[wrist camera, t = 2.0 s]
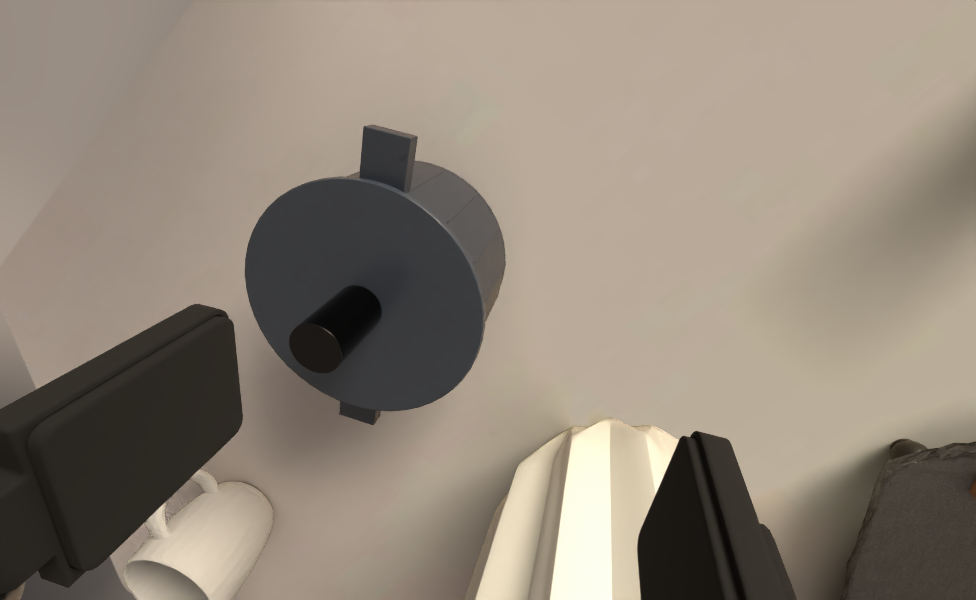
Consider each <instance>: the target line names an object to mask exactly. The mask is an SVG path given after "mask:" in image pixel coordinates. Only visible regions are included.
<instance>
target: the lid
mask: <svg viewBox="0 0 976 600" xmlns="http://www.w3.org/2000/svg"><path fill="white" fill-rule="evenodd" d="M245 279H246V288H247V293H248V297H249V302H250V305H251V308H252V311H253V314H254V316H255V318H256V321H257V323H258V325H259V327H260V329H261V331H262V333H263V334H264V336H265V338H266V339H267V341H268V343H269V344H270V345H271V347H272V348H273V349H274V351H275V352H276V353H277V355H278V356H279V357H280V358H281V359H282V360H283V361H284V362H285V364H286V365H287V366H288V367H289V368H291V369H292V370H293V371H294V372H295V373H296V374H297V375H298V376H299V377H301V378H302V379H303V380H305V381H306V382H307V383H309V384H310V385H311V386H313V387H315V388H316V389H318V390H319V391H321V392H323V393H324V394H326V395H328V396H330V397H332V398H334V399H337V400H339V401H342V402H344V403H347V404H350V405H353V406H357V407H361V408H365V409H371V410H378V411H400V410H408V409H413V408H418V407H421V406H424V405H426V404H429V403H432V402H434V401H436V400H437V399H439V398H441V397H443V396H444V395H446V394H447V393H449V392H450V391H451V390H453V389H454V388H455V387H456V386H457V385H458V384H459V383H460V382H461V381H462V380H463V379H464V377H465V376H466V374H467V373H468V372H469V370H470V369H471V367H472V365H473V363H474V361H475V359H476V357H477V355H478V353H479V350H480V347H481V343H482V340H483V335H484V329H485V303H484V296H483V291H482V287H481V283H480V280H479V277H478V274H477V272H476V269H475V267H474V264H473V262H472V260H471V258H470V257H469V255H468V253H467V251H466V249H465V248H464V246H463V245H462V243H461V242H460V241H459V239H458V238H457V236H456V235H455V234H454V232H453V231H452V230H451V229H450V228H449V227H448V226H447V225H446V224H445V223H444V221H443V220H442V219H441V218H440V217H439V216H437V215H436V214H435V213H434V212H433V211H431V210H430V209H429V208H428V207H427V206H425V205H424V204H422V203H421V202H419V201H418V200H416V199H415V198H413V197H412V196H410V195H408V194H406V193H404V192H402V191H400V190H398V189H396V188H394V187H392V186H389V185H386V184H383V183H380V182H377V181H373V180H368V179H363V178H358V177H330V178H323V179H319V180H314V181H310V182H307V183H305V184H302V185H300V186H298V187H295V188H293V189H291V190H289V191H288V192H286V193H285V194H283V195H282V196H280V197H279V198H277V199H276V200H275V201H274V202H273V203H272V204H271V205H270V206H269V207H268V208H267V209H266V211H265V212H264V213H263V214H262V216H261V217H260V218H259V220H258V222H257V224H256V226H255V228H254V230H253V232H252V234H251V237H250V240H249V243H248V248H247V253H246V259H245Z"/></svg>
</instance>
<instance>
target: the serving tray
mask: <svg viewBox="0 0 976 600" xmlns="http://www.w3.org/2000/svg"><path fill="white" fill-rule="evenodd" d="M890 449H891V451H890V458H891V460H890V461H889V462H888V463H886V464H885V465H884V467H883V469H882V471H881V472H880V474H879V476H878V479H877V482H876V485H875V488H874V490H873V494H872V498H871V501H870V505H869V507H868V510H867V513H866V517H865V519H864V522H863V526H862V529H861V531H860V533H859V537H858V541H857V544H856V546H855V548H854V551H853V553H852V556H851V558H850V559H849V561H848V563H847V572H846V580H845V584H844V592H843V596H842V597H841V599H840V600H976V442H972V443H953V444H950V445H947V446H944V447H941V448H935V449H927V448H926V447H925V446H923V445H922V444H919V443H917V442H914V441H911V440H909V439H900V440H897V441H895V442H894V443H892V445H891V448H890Z"/></svg>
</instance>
